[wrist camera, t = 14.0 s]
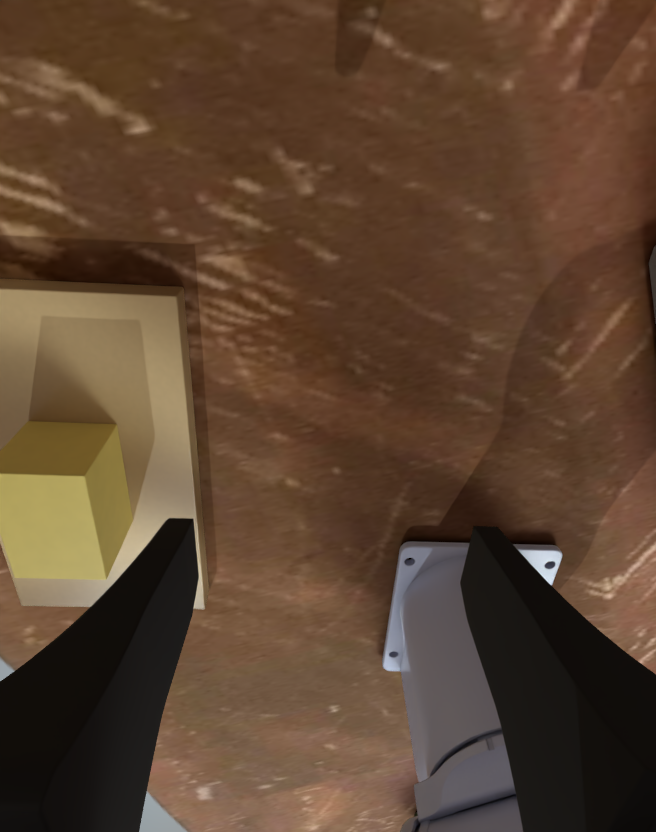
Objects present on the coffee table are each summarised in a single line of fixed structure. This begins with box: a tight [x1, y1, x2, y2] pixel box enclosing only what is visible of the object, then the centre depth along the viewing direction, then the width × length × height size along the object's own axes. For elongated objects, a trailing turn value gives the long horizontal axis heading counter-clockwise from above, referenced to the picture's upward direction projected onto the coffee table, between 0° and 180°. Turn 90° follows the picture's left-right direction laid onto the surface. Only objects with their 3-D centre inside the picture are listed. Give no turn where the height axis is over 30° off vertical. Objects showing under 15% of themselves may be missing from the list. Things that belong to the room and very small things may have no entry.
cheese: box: [0, 421, 133, 580], centre depth 21 cm, size 5×4×4 cm
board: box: [0, 279, 209, 609], centre depth 23 cm, size 16×9×1 cm, turn 177°
